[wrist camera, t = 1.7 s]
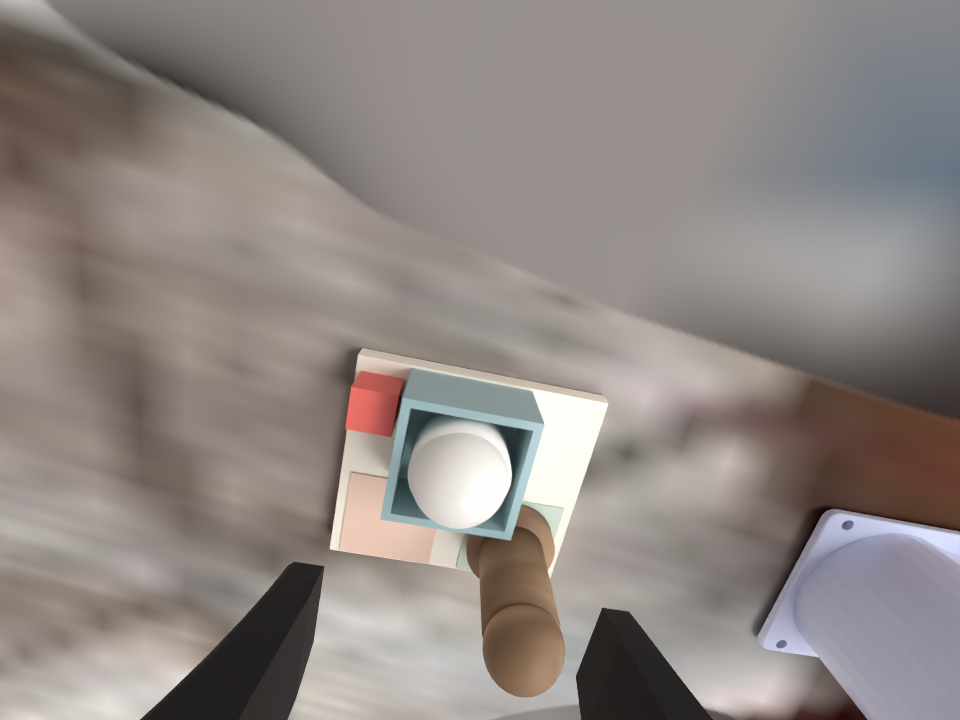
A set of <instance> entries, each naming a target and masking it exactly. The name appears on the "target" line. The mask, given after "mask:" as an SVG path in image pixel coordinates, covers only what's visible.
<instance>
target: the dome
mask: <svg viewBox="0 0 960 720" xmlns="http://www.w3.org/2000/svg"><path fill="white" fill-rule="evenodd" d="M511 480H512V471H511V464H510V459H509V453H508V447H507V442H506V439H505V436H504V434H503V432H502V430H501V429H500V427H499V426H498V425H497V424H494V423H488V422H483V421H477V420H472V419H467V418H461V417H456V416H451V415H445V414H440V413H439V414H437V415H435V416H433V417H432V418H430V419H429V420H428V421H426V422H425V423H424V424H423V426H422V427H421V428H420V429H419V431H418V433H417V435H416V437H415V440H414V444H413V448H412V453H411V458H410V462H409V467H408V483H409V487H410V490H411V492H412V494H413V496H414V499H415V501H416V503H417V505H418V506H419V508H420V509H421V510H422V512H423V513H424V514H425V515H426V516H427V517H428V518H430V519H431V520H432V521H434V522H436V523H437V524H439V525H442V526H444V527H448V528H454V529H465V528H470V527H474V526H477V525H479V524H481V523H483V522H485V521H486V520H488V519H489V518H490V517H491V516H493V515H494V513H495V512H496V511H497V510H498V509H499V507H500V506H501V504H502V502H503V501H504V498H505V496H506V495H507V493H508V491H509V488H510V485H511Z"/></svg>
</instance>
